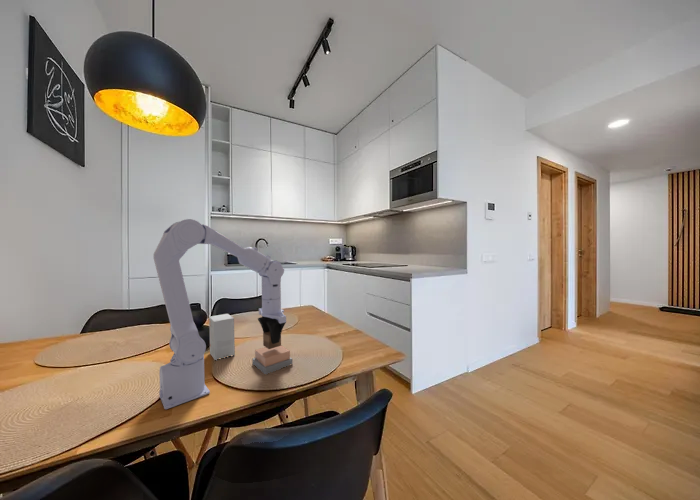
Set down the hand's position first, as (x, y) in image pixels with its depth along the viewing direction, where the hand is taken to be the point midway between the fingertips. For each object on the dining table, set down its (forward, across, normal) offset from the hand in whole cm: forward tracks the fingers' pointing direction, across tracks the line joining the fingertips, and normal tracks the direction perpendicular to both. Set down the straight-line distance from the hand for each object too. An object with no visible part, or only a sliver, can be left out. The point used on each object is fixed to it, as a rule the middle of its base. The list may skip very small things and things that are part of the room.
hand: (272, 340), depth 81 cm
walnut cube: (+2, 0, 0) cm, 2 cm away
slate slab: (+8, 0, 0) cm, 8 cm away
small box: (+8, +19, +9) cm, 22 cm away
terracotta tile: (+6, 0, 0) cm, 6 cm away
